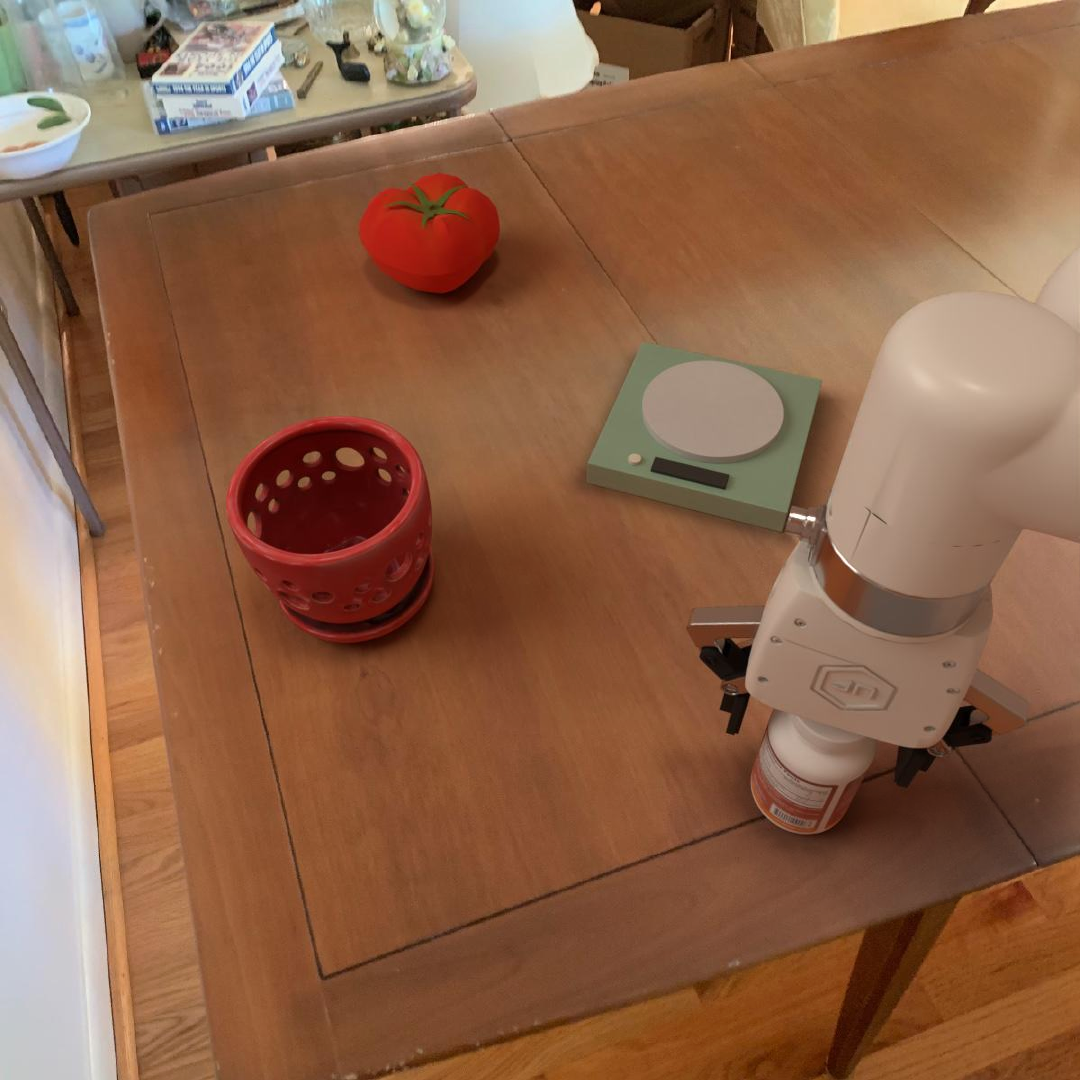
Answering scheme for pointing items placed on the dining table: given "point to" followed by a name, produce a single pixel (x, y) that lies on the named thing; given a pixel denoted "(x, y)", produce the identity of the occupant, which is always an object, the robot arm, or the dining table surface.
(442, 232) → the tomato
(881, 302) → the dining table surface
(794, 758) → the pill bottle
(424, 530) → the flower pot
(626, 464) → the scale
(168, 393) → the dining table surface
